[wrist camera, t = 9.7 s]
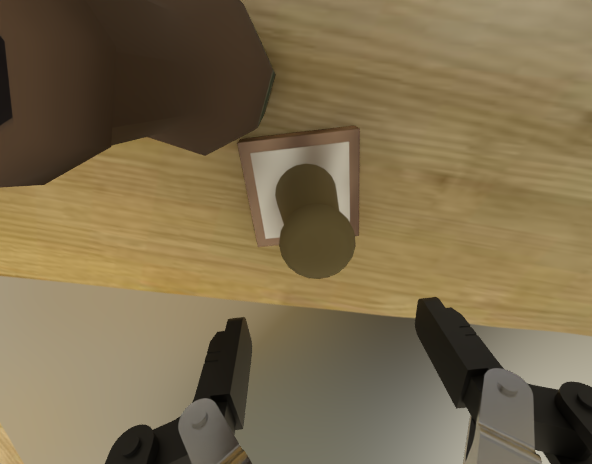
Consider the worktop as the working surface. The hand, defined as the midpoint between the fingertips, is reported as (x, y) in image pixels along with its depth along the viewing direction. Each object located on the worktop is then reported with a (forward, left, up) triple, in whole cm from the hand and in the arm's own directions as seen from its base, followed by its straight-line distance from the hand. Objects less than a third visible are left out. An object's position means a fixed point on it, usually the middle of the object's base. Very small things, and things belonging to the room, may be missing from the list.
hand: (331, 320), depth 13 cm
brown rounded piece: (0, 0, -17) cm, 17 cm away
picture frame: (0, 0, -19) cm, 19 cm away
